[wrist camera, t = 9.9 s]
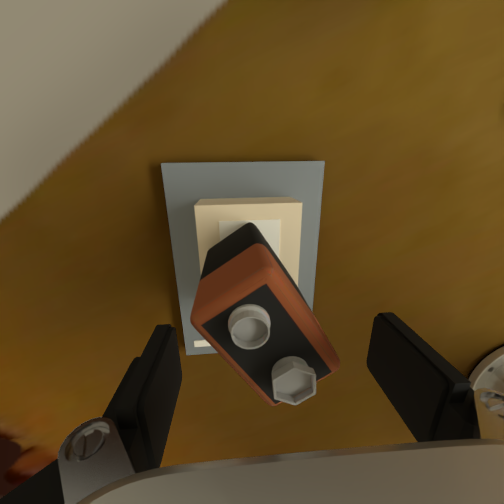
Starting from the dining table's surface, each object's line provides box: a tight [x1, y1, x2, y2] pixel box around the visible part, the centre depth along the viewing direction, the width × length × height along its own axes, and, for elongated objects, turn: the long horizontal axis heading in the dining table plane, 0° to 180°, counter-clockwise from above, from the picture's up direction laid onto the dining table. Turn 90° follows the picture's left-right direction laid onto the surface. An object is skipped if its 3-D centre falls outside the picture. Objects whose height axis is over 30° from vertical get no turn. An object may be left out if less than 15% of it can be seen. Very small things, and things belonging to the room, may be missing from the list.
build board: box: [161, 161, 325, 355], centre depth 22 cm, size 20×14×5 cm
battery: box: [190, 222, 340, 406], centre depth 14 cm, size 4×7×10 cm, turn 34°
